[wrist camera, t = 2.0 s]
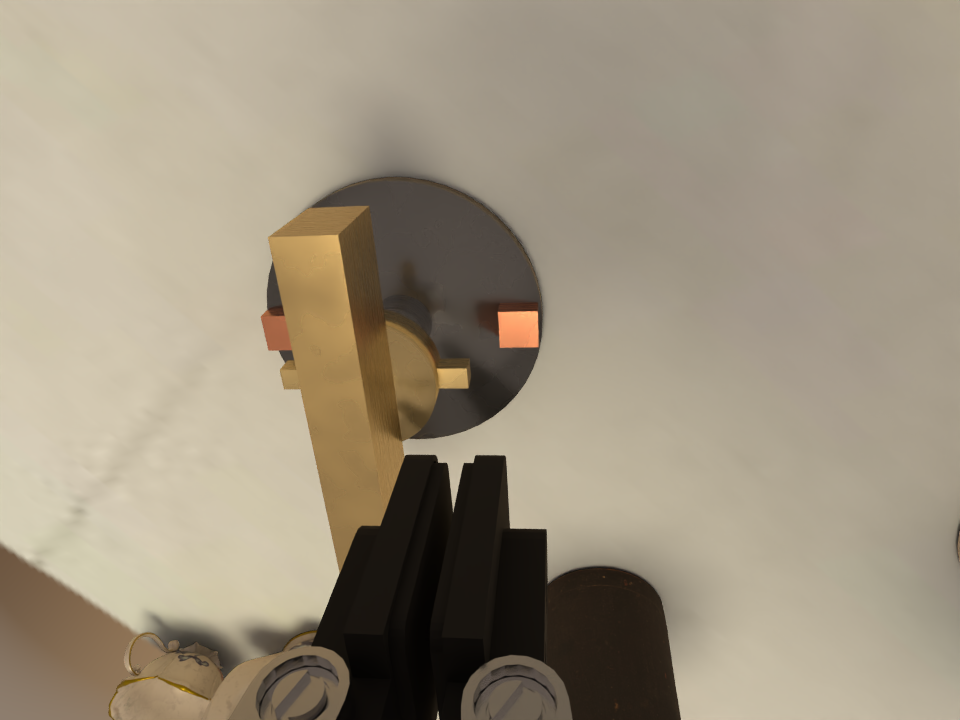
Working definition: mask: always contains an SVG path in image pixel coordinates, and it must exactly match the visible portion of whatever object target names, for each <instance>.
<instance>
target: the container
mask: <svg viewBox="0 0 960 720" xmlns="http://www.w3.org/2000/svg"><path fill="white" fill-rule="evenodd" d="M547 666H549V667H550V668H552V669H553V670H554V671H555V672H556V673H557V675H558V676H559V677H560V679H561V680H562V681H563V682H564V685H565V688H566V691H567V694H568V697H569V702H570V707H571V713H572V719H573V720H681V717H680V711H679V705H678V699H677V692H676V686H675V680H674V673H673V667H672V659H671V653H670V646H669V639H668V631H667V626H666V621H665V615H664V611H663V606H662V602H661V599H660V598H659V596H658V594H657V593H656V592H655V590H654V589H653V588H652V587H651V586H650V585H649V584H647V583H646V582H645V581H643V580H642V579H640V578H638V577H636V576H634V575H632V574H629V573H627V572H624V571H620V570H615V569H607V568H592V569H583V570H578V571H575V572H571V573H569V574H566V575H564V576H562V577H559V578H558V579H556V580H555V581H553V582H552V583H551V584H550V585H548V611H547Z"/></svg>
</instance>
